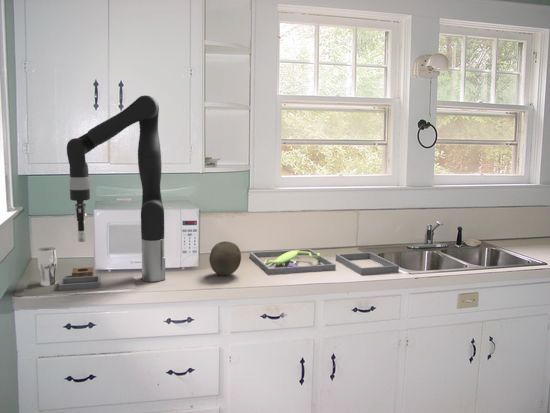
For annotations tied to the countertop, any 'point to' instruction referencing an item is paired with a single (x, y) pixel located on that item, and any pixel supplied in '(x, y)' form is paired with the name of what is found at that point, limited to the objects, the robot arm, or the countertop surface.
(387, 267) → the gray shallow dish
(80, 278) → the tray
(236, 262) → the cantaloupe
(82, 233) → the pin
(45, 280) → the beer glass
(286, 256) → the figurine
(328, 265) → the grey open box
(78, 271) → the pin block
